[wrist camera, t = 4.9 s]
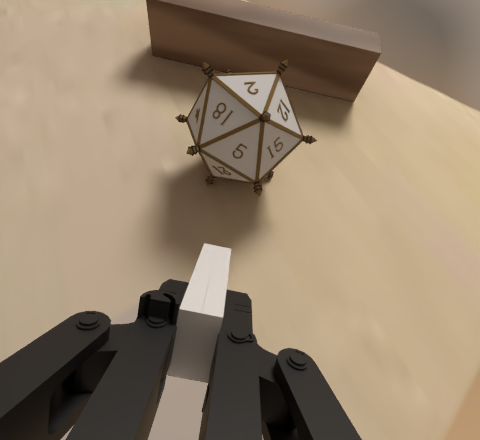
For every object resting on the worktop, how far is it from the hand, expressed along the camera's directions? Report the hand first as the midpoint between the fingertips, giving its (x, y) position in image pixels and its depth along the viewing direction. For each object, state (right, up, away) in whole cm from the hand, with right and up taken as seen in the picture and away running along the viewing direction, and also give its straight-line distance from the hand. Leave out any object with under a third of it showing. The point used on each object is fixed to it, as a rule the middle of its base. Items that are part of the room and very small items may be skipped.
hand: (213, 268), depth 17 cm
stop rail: (+3, +18, +14) cm, 23 cm away
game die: (+1, +7, +8) cm, 10 cm away
